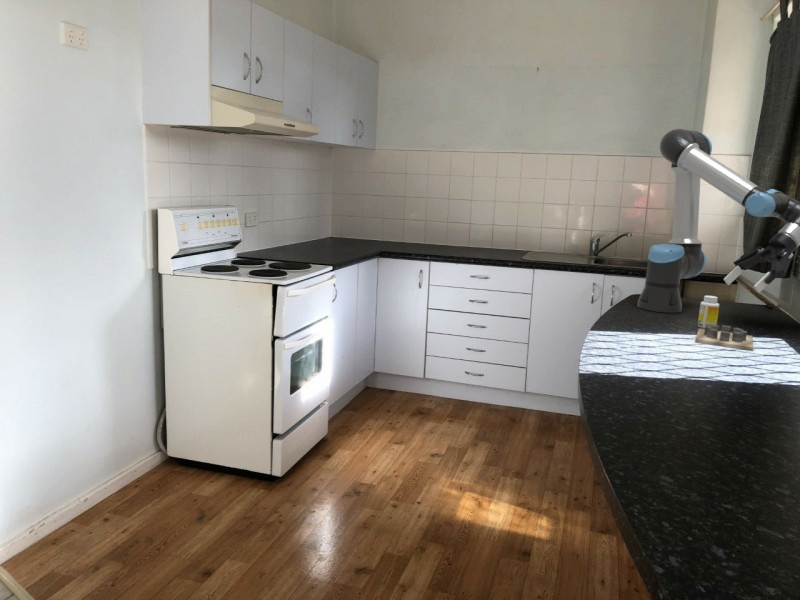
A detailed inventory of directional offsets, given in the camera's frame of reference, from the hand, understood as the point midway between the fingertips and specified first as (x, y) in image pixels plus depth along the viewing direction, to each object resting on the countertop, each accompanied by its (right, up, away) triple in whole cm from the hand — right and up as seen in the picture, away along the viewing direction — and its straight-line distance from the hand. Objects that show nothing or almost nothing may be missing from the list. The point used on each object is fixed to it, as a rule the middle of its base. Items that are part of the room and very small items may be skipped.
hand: (740, 285), depth 215 cm
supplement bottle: (-11, -14, +1) cm, 18 cm away
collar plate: (-14, -17, -17) cm, 27 cm away
